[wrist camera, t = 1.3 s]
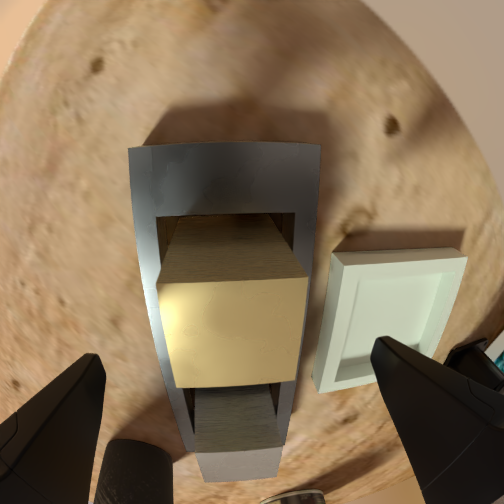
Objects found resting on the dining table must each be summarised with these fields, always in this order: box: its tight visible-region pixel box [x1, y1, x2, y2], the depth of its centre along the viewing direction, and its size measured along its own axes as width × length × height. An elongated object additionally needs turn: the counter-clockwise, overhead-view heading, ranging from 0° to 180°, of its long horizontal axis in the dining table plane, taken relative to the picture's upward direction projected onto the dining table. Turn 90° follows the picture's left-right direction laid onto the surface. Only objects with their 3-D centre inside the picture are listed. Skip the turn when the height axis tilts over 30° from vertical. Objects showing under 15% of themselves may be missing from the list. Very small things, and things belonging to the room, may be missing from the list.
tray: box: [311, 247, 468, 394], centre depth 18 cm, size 10×10×2 cm
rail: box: [128, 141, 321, 452], centre depth 16 cm, size 8×22×2 cm, turn 179°
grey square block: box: [195, 383, 283, 482], centre depth 16 cm, size 4×4×7 cm
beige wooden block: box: [156, 214, 309, 388], centre depth 13 cm, size 4×4×7 cm
